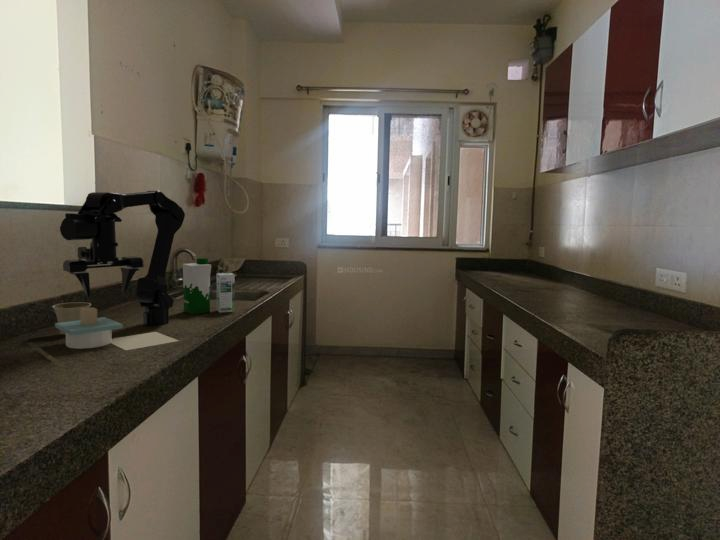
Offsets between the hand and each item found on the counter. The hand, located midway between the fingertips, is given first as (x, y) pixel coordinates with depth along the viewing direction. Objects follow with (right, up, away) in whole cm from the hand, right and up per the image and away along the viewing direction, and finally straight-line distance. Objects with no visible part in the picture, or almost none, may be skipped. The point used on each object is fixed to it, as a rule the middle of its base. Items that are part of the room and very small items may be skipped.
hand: (106, 294), depth 124 cm
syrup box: (+19, -9, +46) cm, 51 cm away
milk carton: (+10, -9, +43) cm, 45 cm away
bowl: (-1, -13, -6) cm, 15 cm away
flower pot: (-12, -12, +5) cm, 18 cm away
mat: (+11, -13, -2) cm, 17 cm away
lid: (-1, -8, -7) cm, 11 cm away
